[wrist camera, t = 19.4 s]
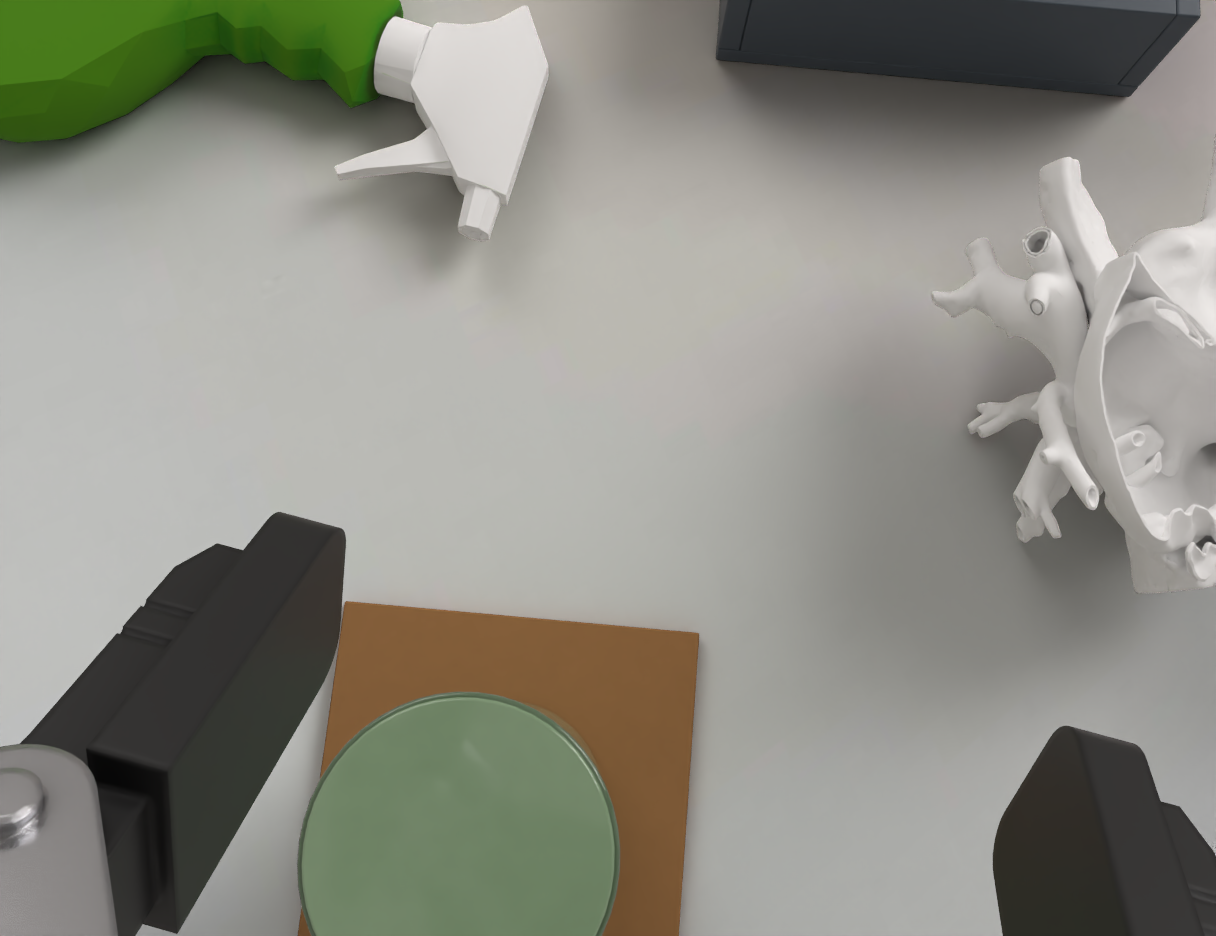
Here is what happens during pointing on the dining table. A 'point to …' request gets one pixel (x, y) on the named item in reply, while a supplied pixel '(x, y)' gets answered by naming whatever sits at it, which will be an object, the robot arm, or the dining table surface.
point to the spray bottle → (289, 75)
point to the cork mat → (570, 688)
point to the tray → (964, 39)
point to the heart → (1113, 376)
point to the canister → (460, 826)
